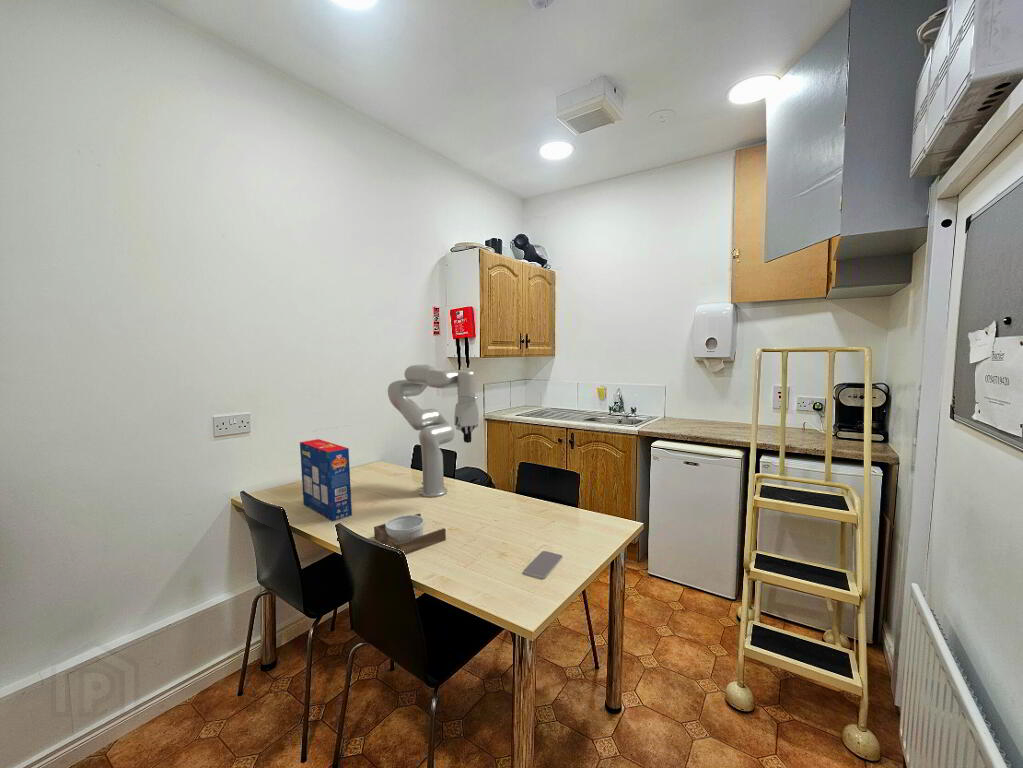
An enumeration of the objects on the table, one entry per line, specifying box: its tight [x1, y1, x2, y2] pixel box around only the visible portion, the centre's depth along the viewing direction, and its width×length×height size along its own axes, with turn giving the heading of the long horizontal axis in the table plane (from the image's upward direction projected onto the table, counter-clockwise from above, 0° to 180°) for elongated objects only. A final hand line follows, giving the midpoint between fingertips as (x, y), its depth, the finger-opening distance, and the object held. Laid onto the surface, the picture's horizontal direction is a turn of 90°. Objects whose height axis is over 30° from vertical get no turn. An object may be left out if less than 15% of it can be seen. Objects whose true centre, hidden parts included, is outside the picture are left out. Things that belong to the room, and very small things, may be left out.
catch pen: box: [373, 512, 447, 555], centre depth 147 cm, size 19×18×4 cm
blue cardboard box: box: [299, 438, 353, 522], centre depth 174 cm, size 28×8×28 cm, turn 48°
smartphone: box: [522, 550, 563, 580], centre depth 128 cm, size 7×1×15 cm
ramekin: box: [384, 514, 425, 543], centre depth 145 cm, size 13×13×7 cm
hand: (467, 442), depth 178 cm, fingers closed
